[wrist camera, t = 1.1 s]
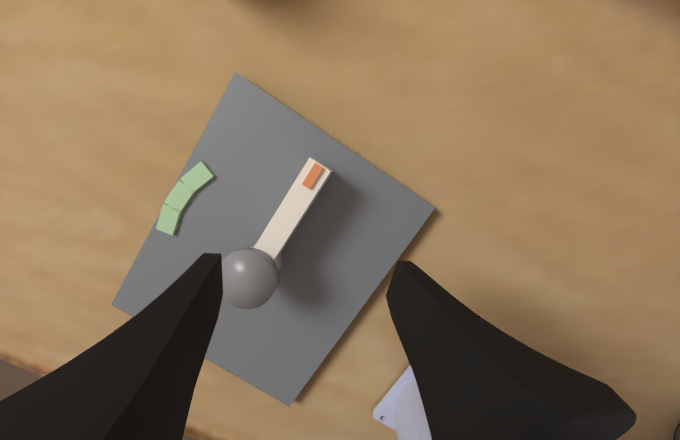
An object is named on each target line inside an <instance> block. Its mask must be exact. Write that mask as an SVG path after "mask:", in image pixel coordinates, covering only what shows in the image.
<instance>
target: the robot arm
mask: <svg viewBox="0 0 680 440" xmlns="http://www.w3.org/2000/svg"><path fill="white" fill-rule="evenodd" d="M222 297H223V278H222V255H221V254H218V253H203V254H202V255H201V256H200V257H199V258H198V259H197V260H196V261H195V262H194V263H193V264H192V265H191V266H190V267H189V268H188V269H187V270H186V271H185V272H184V273H183V274H182V275H181V276H180V277H179V278H178V279H177V280H176V281H175V282H173V283H172V284H171V285H170V286H169V287H168V288H167V289H166V290H165V291H164V292H163V293H162V294H160V295H159V296H158V297H157V298H156V299H155V300H153V301H152V302H151V303H150V304H149V305H147V306H146V307H145V308H144V309H143V310H141V311H140V312H139V313H138V314H136V315H135V316H134V317H133V318H131V319H130V320H129V321H127V322H126V323H125V324H124V325H122V326H121V327H119V328H118V329H117V330H115V331H114V332H113V333H111V334H110V335H108V336H107V337H106V338H104V339H103V340H101V341H100V342H98V343H97V344H95V345H94V346H92V347H91V348H89V349H87V350H86V351H84V352H83V353H81V354H80V355H78V356H77V357H75V358H74V359H72V360H71V361H69V362H67V363H66V364H64V365H63V366H61V367H59V368H58V369H56V370H54V371H52V372H51V373H49V374H47V375H46V376H44V377H42V378H41V379H39V380H37V381H36V382H34V383H32V384H30V385H29V386H27V387H25V388H23V389H21V390H20V391H18V392H16V393H15V394H13V395H11V396H9V397H7V398H5V399H3V400H2V401H0V440H182V437H183V433H184V429H185V425H186V421H187V416H188V412H189V408H190V404H191V400H192V396H193V392H194V388H195V385H196V382H197V378H198V375H199V372H200V369H201V367H202V364H203V361H204V358H205V355H206V352H207V349H208V346H209V343H210V340H211V338H212V335H213V332H214V329H215V326H216V323H217V320H218V316H219V311H220V307H221V302H222ZM386 298H387V302H388V306H389V310H390V314H391V317H392V320H393V323H394V325H395V328H396V330H397V333H398V335H399V338H400V340H401V343H402V345H403V348H404V350H405V353H406V355H407V358H408V360H409V363H410V365H409V367H408V368H407V369H406V370H405V372H404V373H403V374H402V375H401V377H400V378H399V379H398V380H397V381H396V383H395V384H394V385H393V386H392V388H391V389H390V390H389V391H388V393H387V394H386V395H385V396H384V397H383V399H382V400H381V401H380V402H379V404H378V405H377V406H376V407H375V409H374V410H373V417H374V418H375V419H376V420H378V421H380V422H381V423H383V424H385V425H386V426H388V427H390V428H392V429H393V430H395V431H396V434H397V439H398V440H616V439H618V438H619V437H620V436H622V435H623V434H624V433H625V432H627V431H628V430H629V429H630V428H631V427H632V426H633V425H634V424H635V421H636V414H635V412H634V411H633V410H632V409H631V408H630V407H629V406H628V405H627V404H626V403H625V402H624V401H623V400H622V399H621V398H620V397H619V396H618V395H617V394H616V393H615V392H614V390H613V389H612V388H610V387H609V386H608V385H607V384H604V383H602V382H600V381H598V380H595V379H593V378H591V377H589V376H587V375H584V374H582V373H580V372H578V371H575V370H573V369H571V368H569V367H567V366H565V365H562V364H561V363H559V362H557V361H555V360H553V359H551V358H549V357H547V356H545V355H543V354H541V353H539V352H537V351H535V350H533V349H532V348H530V347H528V346H526V345H524V344H523V343H521V342H519V341H518V340H516V339H514V338H512V337H511V336H509V335H507V334H506V333H504V332H503V331H501V330H499V329H498V328H496V327H495V326H493V325H492V324H490V323H489V322H487V321H486V320H484V319H483V318H481V317H480V316H478V315H477V314H476V313H474V312H473V311H472V310H470V309H469V308H468V307H466V306H465V305H464V304H462V303H461V302H460V301H458V300H457V299H456V298H455V297H453V296H452V295H451V294H450V293H448V292H447V291H446V290H445V289H444V288H442V287H441V286H440V285H439V284H438V283H436V282H435V281H434V280H433V279H432V278H431V277H429V276H428V275H427V274H426V273H425V272H424V271H422V270H421V269H420V268H419V267H417V266H416V265H415V264H414V263H412V262H411V261H398V262H397V265H396V267H395V270H394V273H393V276H392V279H391V282H390V285H389V288H388V291H387V294H386ZM381 416H384V417H381Z"/></svg>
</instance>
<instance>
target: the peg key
mask: <svg viewBox="0 0 680 440" xmlns="http://www.w3.org/2000/svg"><path fill="white" fill-rule="evenodd" d="M332 172H333V170H331V169H330V168H328V167H327V166H325V165H324V164H322V163H321V162H319V161H318V160H316V159H314V158H311V157H309V159H308V161H307V162H306V164H305V165H304V167H303V169H302V170H301V172H300V174H299V175H298V177H297V178H296V180H295V182H294V183H293V185H292V187H291V188H290V190H289V191H288V193H287V195H286V196H285V198H284V199H283V201H282V203H281V204H280V206H279V208H278V209H277V211H276V212H275V214H274V216H273V217H272V219H271V220H270V222H269V224H268V225H267V227H266V229H265V230H264V232H263V233H262V235H261V237H260V238H259V240H258V242H257V243H255V244H253V245H252V246H251V247H250V248H241V249H238V250H235V251H234V252H232V253H231V254H229V255H228V256H226V257H225V258H224V259H223V260H222V278H223V297H222V298H223V299H224V300H225V301H226V302H227V303H228V304H230V305H232V306H234V307H236V308H240V309H255V308H258V307H260V306H262V305H264V304H265V303H266V302H267V301H268V300H269V299H270V298H271V296H272V295H273V293H274V291H275V289H276V288H277V285H278V281H279V270H280V269H281V267H282V265H283V255H282V252H281V251H282V250H283V248H284V246H285V245H286V243H287V242H288V240H289V239H290V237H291V236H292V234H293V232H294V231H295V229H296V228H297V226H298V225H299V223H300V222H301V220H302V218H303V217H304V215H305V214H306V212H307V211H308V209H309V207H310V206H311V204H312V203H313V201H314V200H315V198H316V197H317V195H318V193H319V192H320V190H321V189H322V187H323V186H324V184H325V183H326V181H327V179H328V178H329V176H330V175H331V173H332Z"/></svg>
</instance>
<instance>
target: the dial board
mask: <svg viewBox="0 0 680 440" xmlns="http://www.w3.org/2000/svg"><path fill="white" fill-rule="evenodd" d="M309 157H311V158H314V159H316V160H318V161H319V162H321V163H322V164H324V165H325V166H327V167H328V168H330V169H331V170H333V172H332V173H331V175H330V176H329V178H328V179H327V181H326V183H325V184H324V186H323V187H322V189H321V190H320V192H319V193H318V195H317V197H316V198H315V200H314V201H313V203H312V204H311V206H310V207H309V209H308V211H307V212H306V214H305V215H304V217H303V218H302V220H301V222H300V223H299V225H298V226H297V228H296V229H295V231H294V232H293V234H292V236H291V237H290V239H289V240H288V242H287V243H286V245H285V246H284V248H283V250H282V251H281V252H282V255H283V265H282V267H281V269H280V270H279V281H278V285H277V288H276V289H275V291H274V293H273V295H272V296H271V298H270V299H269V300H268V301H267V302H266V303H265V304H264V305H262V306H260V307H258V308H255V309H240V308H236V307H234V306H232V305H230V304H228V303H227V302H226V301H225V300H224V299H223V298H222V302H221V307H220V311H219V316H218V320H217V323H216V326H215V329H214V332H213V335H212V338H211V340H210V343H209V346H208V349H207V352H206V355H205V359H207V360H209V361H211V362H212V363H214V364H216V365H218V366H219V367H221V368H223V369H225V370H226V371H228V372H230V373H232V374H233V375H235V376H237V377H239V378H240V379H242V380H244V381H246V382H247V383H249V384H251V385H253V386H254V387H256V388H258V389H260V390H261V391H263V392H265V393H267V394H268V395H270V396H272V397H274V398H275V399H277V400H279V401H281V402H282V403H284V404H286V405H288V406H290V405H291V404H292V402H293V401H294V399H295V398H296V397H297V395H298V394H299V393H300V391H301V390H302V389H303V387H304V386H305V385H306V383H307V382H308V380H309V379H310V378H311V376H312V375H313V374H314V372H315V371H316V370H317V368H318V367H319V365H320V364H321V363H322V361H323V360H324V359H325V357H326V356H327V355H328V353H329V352H330V351H331V349H332V348H333V346H334V345H335V344H336V342H337V341H338V340H339V338H340V337H341V336H342V334H343V333H344V331H345V330H346V329H347V327H348V326H349V325H350V323H351V322H352V321H353V319H354V318H355V316H356V315H357V314H358V312H359V311H360V310H361V308H362V307H363V306H364V304H365V303H366V302H367V300H368V299H369V297H370V296H371V295H372V293H373V292H374V291H375V289H376V288H377V287H378V285H379V284H380V282H381V281H382V280H383V278H384V277H385V276H386V274H387V273H388V272H389V270H390V269H391V268H392V266H393V265H394V263H395V262H396V261H397V259H398V258H399V257H400V255H401V254H402V253H403V251H404V250H405V248H406V247H407V246H408V244H409V243H410V242H411V240H412V239H413V238H414V236H415V235H416V233H417V232H418V231H419V229H420V228H421V227H422V225H423V224H424V223H425V221H426V220H427V219H428V217H429V216H430V214H431V213H432V212H433V210H434V209H435V207H434V206H432V205H431V204H429V203H428V202H426V201H425V200H423V199H422V198H421V197H419V196H418V195H416V194H415V193H413V192H412V191H410V190H409V189H407V188H406V187H404V186H403V185H401V184H400V183H398V182H397V181H395V180H394V179H392V178H391V177H390V176H388V175H387V174H385V173H384V172H382V171H381V170H379V169H378V168H376V167H375V166H373V165H372V164H370V163H369V162H367V161H366V160H364V159H363V158H362V157H360V156H359V155H357V154H356V153H354V152H353V151H351V150H350V149H348V148H347V147H345V146H344V145H342V144H341V143H339V142H338V141H336V140H335V139H333V138H332V137H331V136H329V135H328V134H326V133H325V132H323V131H322V130H320V129H319V128H317V127H316V126H314V125H313V124H311V123H310V122H308V121H307V120H305V119H304V118H302V117H301V116H300V115H298V114H297V113H295V112H294V111H292V110H291V109H289V108H288V107H286V106H285V105H283V104H282V103H280V102H279V101H277V100H276V99H274V98H273V97H271V96H270V95H269V94H267V93H266V92H264V91H263V90H261V89H260V88H258V87H257V86H255V85H254V84H252V83H251V82H249V81H248V80H246V79H245V78H243V77H242V76H240V75H239V74H238V73H236V72H235V73H234V75H233V77H232V79H231V81H230V83H229V85H228V86H227V88H226V90H225V92H224V94H223V96H222V98H221V100H220V101H219V103H218V105H217V107H216V109H215V111H214V113H213V115H212V116H211V118H210V120H209V122H208V124H207V126H206V128H205V130H204V131H203V133H202V135H201V137H200V139H199V141H198V143H197V145H196V147H195V148H194V150H193V152H192V154H191V156H190V158H189V160H188V162H187V163H186V165H185V167H184V169H183V171H182V173H181V175H180V177H179V178H178V180H177V182H176V184H175V186H174V188H173V190H172V191H171V193H170V194H169V196H168V197H167V199H166V200H165V202H164V204H163V207H162V210H161V212H160V214H159V216H158V218H157V220H156V222H155V224H154V225H153V227H152V229H151V231H150V233H149V235H148V237H147V239H146V240H145V242H144V244H143V246H142V248H141V250H140V252H139V254H138V255H137V257H136V259H135V261H134V263H133V265H132V267H131V269H130V270H129V272H128V274H127V276H126V278H125V280H124V282H123V284H122V286H121V287H120V289H119V291H118V293H117V295H116V297H115V299H114V301H113V302H112V304H111V305H113V306H115V307H116V308H118V309H120V310H122V311H123V312H125V313H127V314H129V315H130V316H132V317H134V316H135V315H136V314H138V313H139V312H140V311H141V310H143V309H144V308H145V307H146V306H147V305H149V304H150V303H151V302H152V301H153V300H155V299H156V298H157V297H158V296H159V295H160V294H162V293H163V292H164V291H165V290H166V289H167V288H168V287H169V286H170V285H171V284H172V283H173V282H175V281H176V280H177V279H178V278H179V277H180V276H181V275H182V274H183V273H184V272H185V271H186V270H187V269H188V268H189V267H190V266H191V265H192V264H193V263H194V262H195V261H196V260H197V259H198V258H199V257H200V256H201V255H202V254H203V253H218V254H221V255H222V260H223V259H224V258H225V257H226V256H228V255H229V254H231V253H232V252H234V251H235V250H238V249H241V248H250V247H251V246H252V245H253V244H255V243H257V242H258V240H259V238H260V237H261V235H262V233H263V232H264V230H265V229H266V227H267V225H268V224H269V222H270V220H271V219H272V217H273V216H274V214H275V212H276V211H277V209H278V208H279V206H280V204H281V203H282V201H283V199H284V198H285V196H286V195H287V193H288V191H289V190H290V188H291V187H292V185H293V183H294V182H295V180H296V178H297V177H298V175H299V174H300V172H301V170H302V169H303V167H304V165H305V164H306V162H307V161H308V159H309Z"/></svg>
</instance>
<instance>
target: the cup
mask: <svg viewBox="0 0 680 440" xmlns="http://www.w3.org/2000/svg"><path fill="white" fill-rule="evenodd" d="M675 440H680V425H679V427H678V429H677V432H676V435H675Z"/></svg>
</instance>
